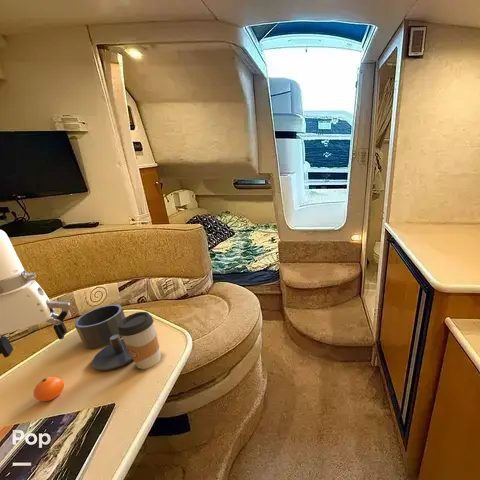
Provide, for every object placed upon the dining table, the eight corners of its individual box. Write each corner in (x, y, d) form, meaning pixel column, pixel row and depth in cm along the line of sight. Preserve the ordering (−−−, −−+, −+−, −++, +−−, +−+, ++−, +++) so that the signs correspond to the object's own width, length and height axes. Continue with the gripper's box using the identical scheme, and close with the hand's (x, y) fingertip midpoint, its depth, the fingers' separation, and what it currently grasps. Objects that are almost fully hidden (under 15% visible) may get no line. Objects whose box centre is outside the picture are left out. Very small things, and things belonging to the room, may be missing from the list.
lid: (95, 380, 74) (87, 361, 72) (91, 355, 84) (83, 338, 81) (151, 353, 83) (145, 336, 81) (141, 333, 92) (135, 317, 90)
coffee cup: (126, 368, 78) (108, 326, 72) (151, 348, 85) (137, 308, 80) (146, 375, 75) (130, 331, 70) (171, 354, 82) (158, 313, 77)
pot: (85, 355, 84) (75, 332, 81) (82, 336, 93) (73, 316, 90) (132, 334, 92) (124, 314, 89) (125, 319, 101) (118, 300, 98)
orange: (32, 409, 67) (22, 391, 65) (48, 390, 72) (39, 373, 70) (59, 403, 68) (49, 385, 66) (72, 385, 73) (64, 368, 71)
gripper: (58, 267, 68) (83, 323, 73) (-45, 290, 59) (-8, 351, 65) (51, 277, 62) (79, 337, 68) (-65, 305, 53) (-22, 371, 59)
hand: (37, 344), depth 66 cm, fingers open, 9 cm apart
